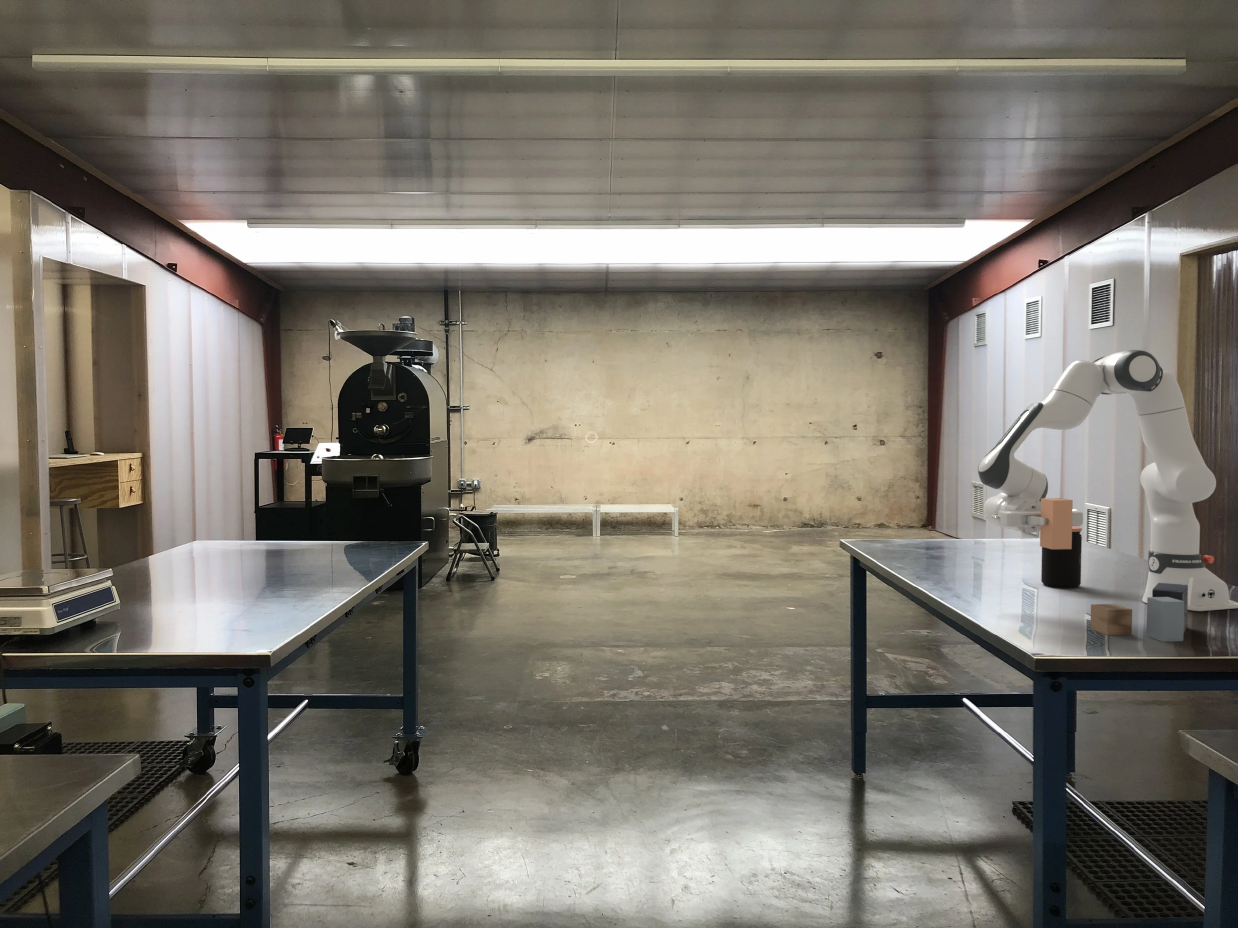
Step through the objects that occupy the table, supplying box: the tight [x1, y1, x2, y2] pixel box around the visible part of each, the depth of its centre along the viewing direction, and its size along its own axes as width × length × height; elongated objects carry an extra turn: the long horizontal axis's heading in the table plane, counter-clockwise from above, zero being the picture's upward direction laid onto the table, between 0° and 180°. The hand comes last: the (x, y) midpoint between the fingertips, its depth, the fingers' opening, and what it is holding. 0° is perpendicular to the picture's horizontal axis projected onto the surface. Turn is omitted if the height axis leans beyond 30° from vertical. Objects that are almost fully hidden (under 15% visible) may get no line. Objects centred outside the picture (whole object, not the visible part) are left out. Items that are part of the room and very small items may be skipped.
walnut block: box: [1090, 603, 1133, 636], centre depth 195 cm, size 6×6×6 cm
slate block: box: [1146, 597, 1185, 643], centre depth 189 cm, size 5×5×9 cm
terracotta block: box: [1039, 497, 1074, 549], centre depth 205 cm, size 5×5×12 cm
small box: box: [1152, 583, 1189, 636], centre depth 197 cm, size 11×6×10 cm, turn 141°
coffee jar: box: [1040, 526, 1083, 590], centre depth 252 cm, size 11×11×18 cm
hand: (1058, 521), depth 204 cm, fingers closed on terracotta block, 5 cm apart
